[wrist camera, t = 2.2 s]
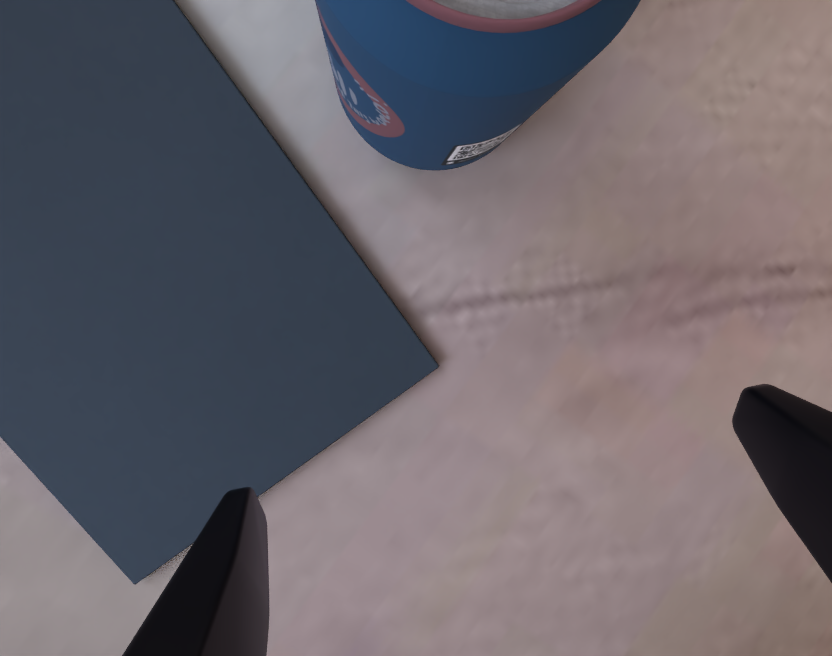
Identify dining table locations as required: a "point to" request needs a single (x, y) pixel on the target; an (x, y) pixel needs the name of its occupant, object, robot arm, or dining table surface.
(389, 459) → the dining table surface
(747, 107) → the dining table surface
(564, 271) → the dining table surface
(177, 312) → the placemat
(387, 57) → the soda can
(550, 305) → the dining table surface
